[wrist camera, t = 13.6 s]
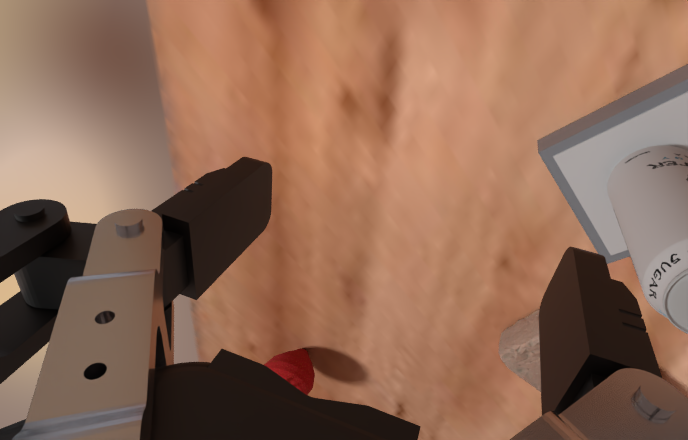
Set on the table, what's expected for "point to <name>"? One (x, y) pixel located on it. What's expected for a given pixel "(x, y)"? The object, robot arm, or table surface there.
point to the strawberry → (294, 369)
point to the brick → (523, 349)
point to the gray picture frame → (614, 152)
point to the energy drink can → (656, 224)
